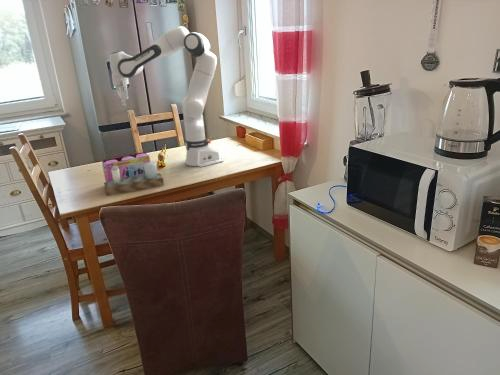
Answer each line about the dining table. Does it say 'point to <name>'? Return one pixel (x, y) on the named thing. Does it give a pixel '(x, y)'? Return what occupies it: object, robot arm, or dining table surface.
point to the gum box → (126, 166)
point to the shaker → (116, 175)
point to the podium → (132, 184)
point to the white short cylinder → (150, 170)
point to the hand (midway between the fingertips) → (124, 105)
